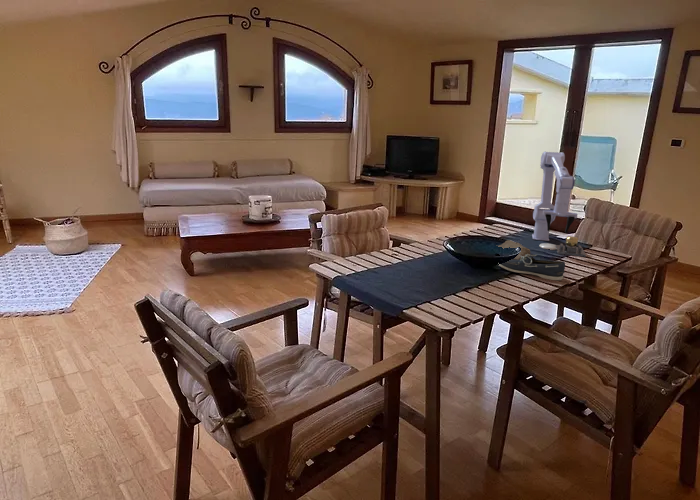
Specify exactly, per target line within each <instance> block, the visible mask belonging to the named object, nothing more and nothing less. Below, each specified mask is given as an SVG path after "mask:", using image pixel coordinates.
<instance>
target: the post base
mask: <svg viewBox="0 0 700 500" xmlns="http://www.w3.org/2000/svg"><path fill="white" fill-rule="evenodd" d="M555 245H556V248H557V249H556V250H555V251H556V253H557V254H558V255H564V254H565V255H566V256H573V257H574V256H576V257H582V258H587V254H586V252H585V250H584V248H583V247H582V245H579V244H577V246H568V245H566V242H565V243H564V244H563V243H559V244H555Z"/></svg>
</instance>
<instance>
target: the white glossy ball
mask: <svg viewBox="0 0 700 500" xmlns="http://www.w3.org/2000/svg"><path fill="white" fill-rule="evenodd" d="M556 245H557V244H554V243H543V242H542V243H540V244H539V246H538V247H540V248H541V249H544V250H548V249H550V251H557V250H556V249H557V248H556Z"/></svg>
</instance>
